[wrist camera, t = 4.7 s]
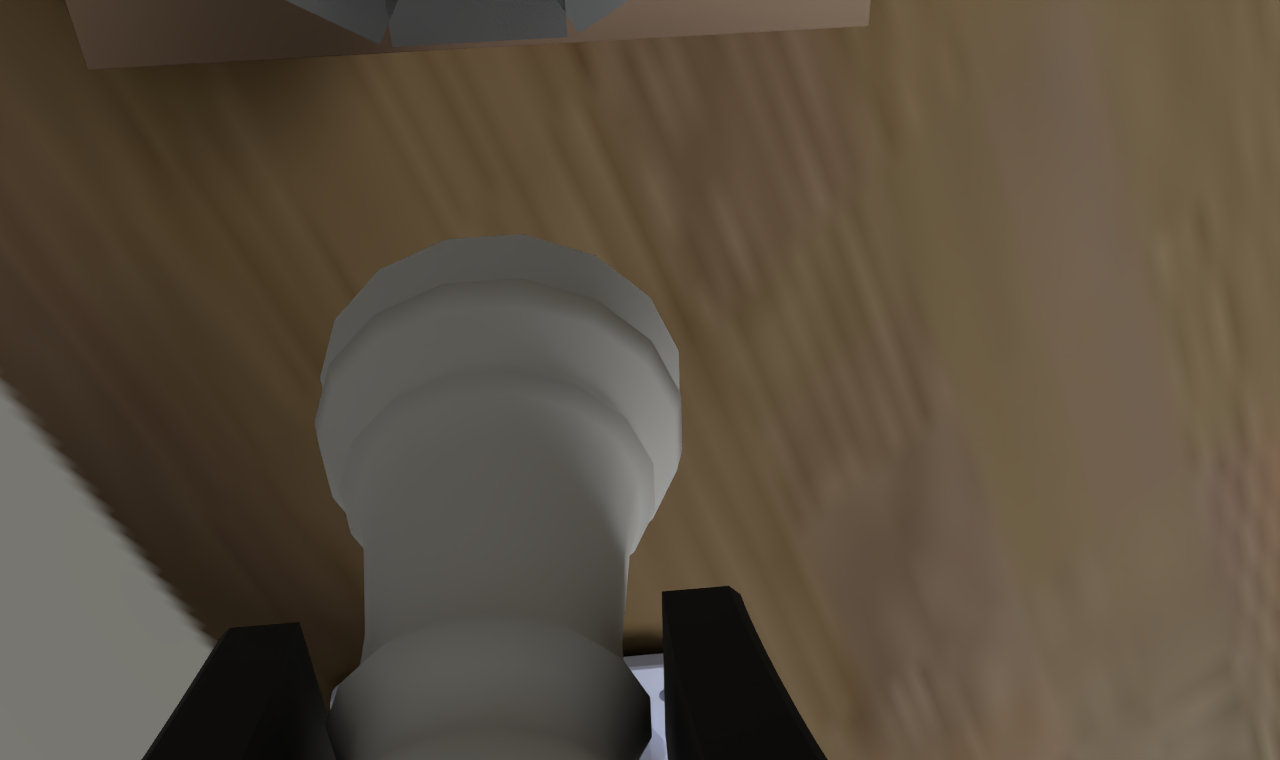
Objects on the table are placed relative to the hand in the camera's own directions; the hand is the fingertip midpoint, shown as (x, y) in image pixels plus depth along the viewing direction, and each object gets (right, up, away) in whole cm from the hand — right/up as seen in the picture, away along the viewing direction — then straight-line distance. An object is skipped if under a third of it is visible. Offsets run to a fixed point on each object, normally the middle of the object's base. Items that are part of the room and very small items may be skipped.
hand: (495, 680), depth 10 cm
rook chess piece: (0, +3, +4) cm, 5 cm away
